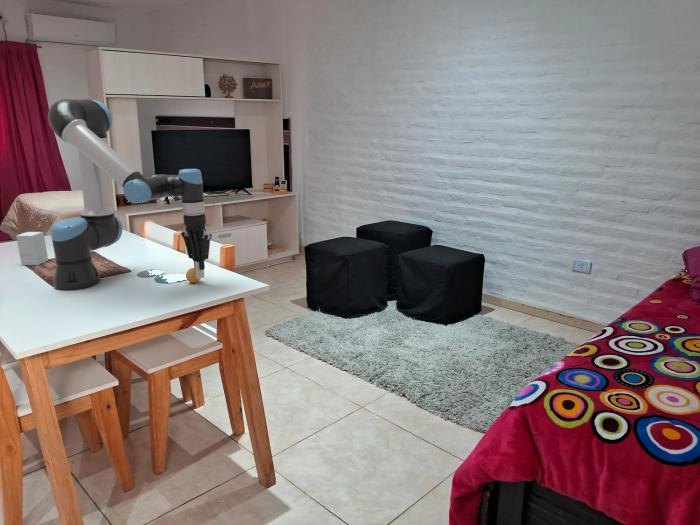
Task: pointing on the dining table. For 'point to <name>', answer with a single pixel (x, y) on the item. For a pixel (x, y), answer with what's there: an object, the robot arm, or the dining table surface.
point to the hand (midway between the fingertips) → (200, 277)
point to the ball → (191, 275)
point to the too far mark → (145, 274)
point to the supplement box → (32, 248)
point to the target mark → (160, 279)
